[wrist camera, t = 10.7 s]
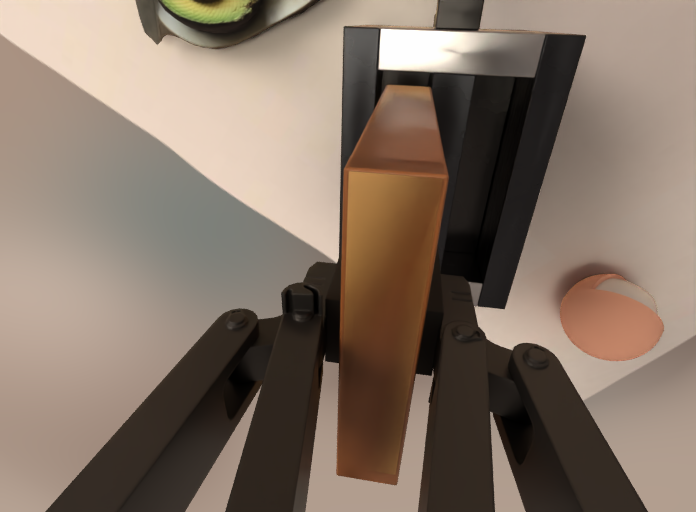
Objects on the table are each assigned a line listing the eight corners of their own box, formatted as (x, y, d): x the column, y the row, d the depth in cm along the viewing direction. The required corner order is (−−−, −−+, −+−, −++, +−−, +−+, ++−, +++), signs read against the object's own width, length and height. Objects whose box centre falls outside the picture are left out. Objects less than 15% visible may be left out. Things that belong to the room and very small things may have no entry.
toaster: (533, 5, 28) (599, -5, 18) (480, 232, 38) (504, 309, 28) (368, 0, 30) (344, -11, 20) (358, 221, 39) (338, 291, 29)
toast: (431, 86, 20) (449, 175, 8) (406, 281, 26) (397, 486, 15) (386, 84, 20) (343, 167, 9) (371, 278, 26) (335, 475, 15)
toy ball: (650, 298, 39) (699, 356, 32) (575, 333, 42) (605, 392, 36) (610, 243, 37) (654, 293, 30) (534, 285, 40) (558, 338, 33)
